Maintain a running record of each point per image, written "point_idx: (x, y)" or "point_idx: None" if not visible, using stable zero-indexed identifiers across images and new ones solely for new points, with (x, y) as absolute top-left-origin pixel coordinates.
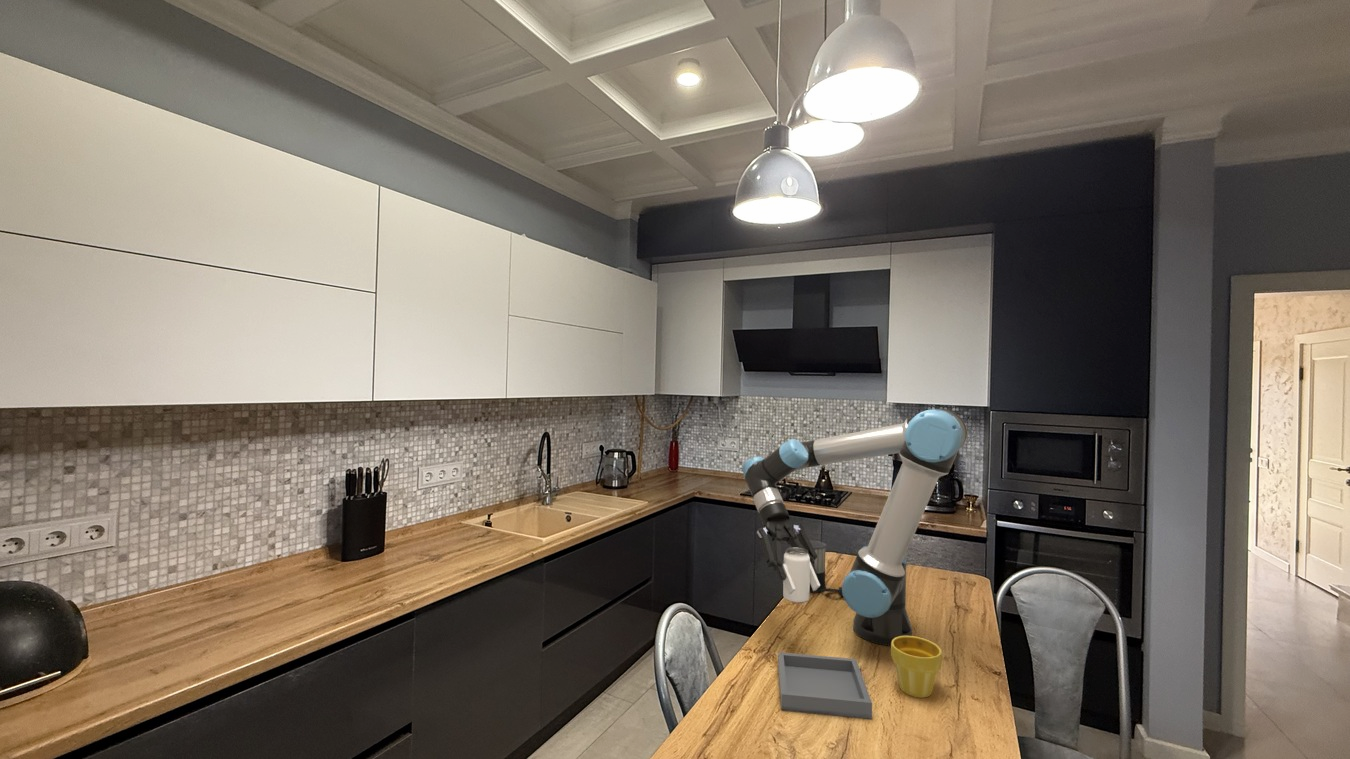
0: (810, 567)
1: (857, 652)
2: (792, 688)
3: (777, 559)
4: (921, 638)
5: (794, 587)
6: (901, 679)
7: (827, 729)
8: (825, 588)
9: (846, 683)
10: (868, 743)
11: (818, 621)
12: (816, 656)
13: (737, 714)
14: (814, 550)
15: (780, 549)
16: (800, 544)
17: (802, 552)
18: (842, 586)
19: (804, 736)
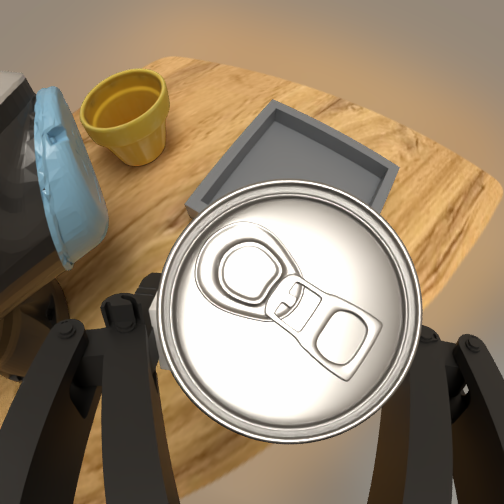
0: None
1: (121, 282)
2: None
3: (441, 355)
4: (82, 116)
5: None
6: (164, 132)
7: (345, 125)
8: None
9: (244, 183)
10: (310, 92)
11: (101, 439)
12: None
13: (447, 200)
14: (33, 362)
15: (416, 434)
16: (117, 459)
17: (240, 269)
18: (91, 214)
19: (381, 129)
